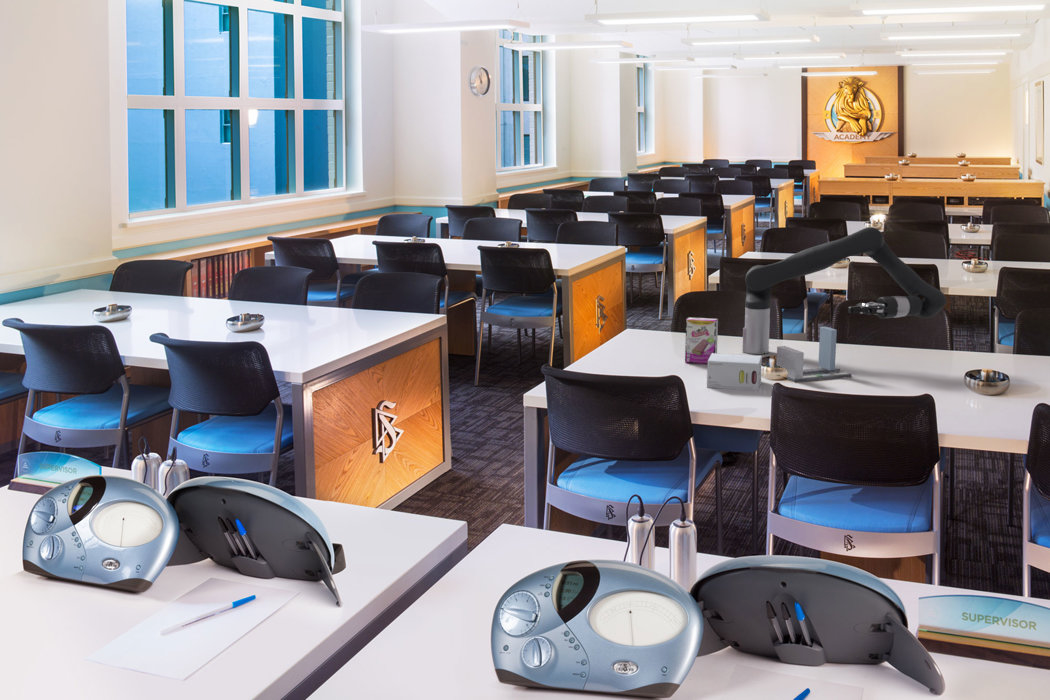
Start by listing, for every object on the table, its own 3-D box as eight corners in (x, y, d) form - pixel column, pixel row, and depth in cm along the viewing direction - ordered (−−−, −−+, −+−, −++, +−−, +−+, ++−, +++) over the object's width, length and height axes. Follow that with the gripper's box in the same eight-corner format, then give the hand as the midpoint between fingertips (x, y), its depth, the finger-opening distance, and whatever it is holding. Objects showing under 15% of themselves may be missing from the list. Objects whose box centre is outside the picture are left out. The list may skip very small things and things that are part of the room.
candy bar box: (684, 363, 374) (685, 319, 371) (687, 360, 379) (687, 317, 375) (715, 365, 370) (716, 320, 367) (717, 362, 375) (718, 318, 372)
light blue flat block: (823, 366, 357) (825, 326, 354) (840, 373, 347) (842, 331, 344) (818, 367, 356) (820, 326, 354) (835, 373, 346) (837, 331, 344)
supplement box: (706, 388, 337) (706, 360, 335) (710, 379, 349) (711, 352, 347) (758, 390, 332) (759, 362, 330) (761, 381, 344) (762, 354, 343)
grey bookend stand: (831, 369, 359) (832, 342, 357) (851, 377, 348) (852, 348, 346) (776, 374, 353) (777, 346, 351) (794, 382, 342) (795, 353, 340)
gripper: (881, 293, 362) (838, 296, 357) (905, 299, 349) (861, 302, 345) (880, 314, 363) (837, 317, 358) (903, 320, 351) (860, 323, 346)
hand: (849, 310), depth 351 cm, fingers closed
